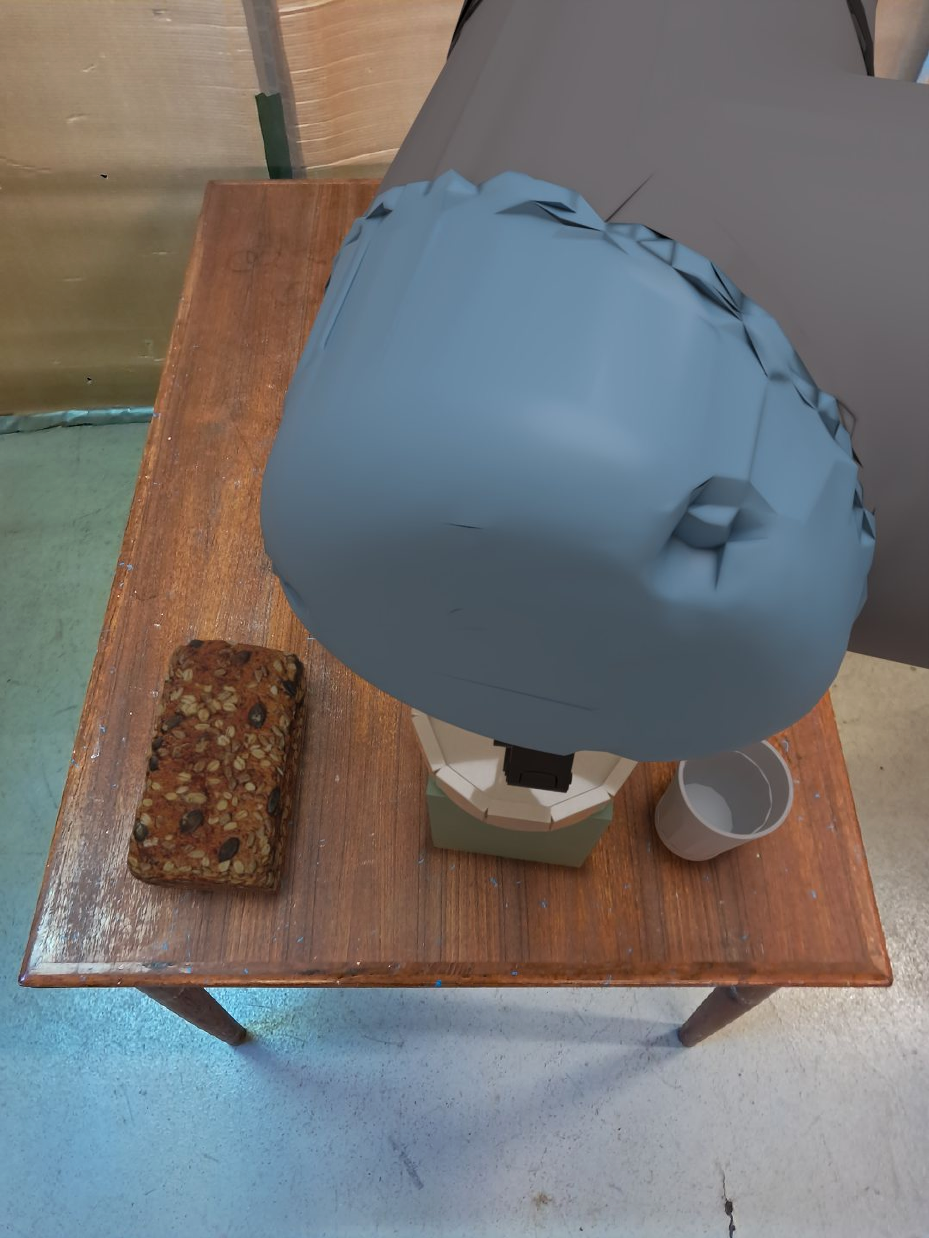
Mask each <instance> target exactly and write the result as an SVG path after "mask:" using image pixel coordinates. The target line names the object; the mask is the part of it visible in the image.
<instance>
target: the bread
mask: <svg viewBox="0 0 929 1238" xmlns="http://www.w3.org/2000/svg"><path fill="white" fill-rule="evenodd" d="M298 656H299V653H296V654H295V653H294V652H290V651H287V650H280V649H274V648H269V647H265V646H261V645H255V644H250V643H249V644H248V643H241V642H237V641H236V640H224V639H203V640H201V639H198V638H195V639H192V640H190V642H189V643H188V644H185V645H181V644H179V645H178V647H177V648H176V649H175V650H174V651H173V652H172V654H171V656H170V658H169V662H168V663H169V664H168V672H167V675H164V684H163V690H162V693H161V696H160V699H159V702H158V704H157V710H156V711H157V714H156V715H155V717H154V723H153V724H154V726H153V730H154V732H153V734H152V736H151V738H150V746H149V747H148V748H147V753H146V760H147V763H146V765H145V778H144V782H143V788H142V789H143V790H142V796H141V799H140V800H138V804H137V807H136V811H135V816H134V822H133V827H132V831H131V833H130V835H129V841H128V842H129V844H128V852H127V858H126V864H127V866H128V871H129V874H130V875H131V876H132V877H134V879H135V880H137V881H140V882H141V883H143V884H145V885H147V886H153V887H154V888H157V887H160V888H164V889H185V890H194V891H196V890H197V891H211V892H212V891H214V892H237V893H238V892H239V893H277V892H279V891H280V885H281V880H282V875H283V870H284V862H285V854H286V848H287V845H288V844H287V843H288V832H289V828H290V822H291V818H292V813H293V812H292V811H293V805H294V796H295V789H296V781H297V774H298V769H299V768H298V767H299V764H300V753H301V749H302V739H303V731H304V725H305V718H306V709H305V708H306V704H307V699H308V695H307V692H308V689H307V688H308V684H307V677H306V672H307V669H306V667H305V664H304V662H303V661H301V660H300V659H299V658H298Z"/></svg>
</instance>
